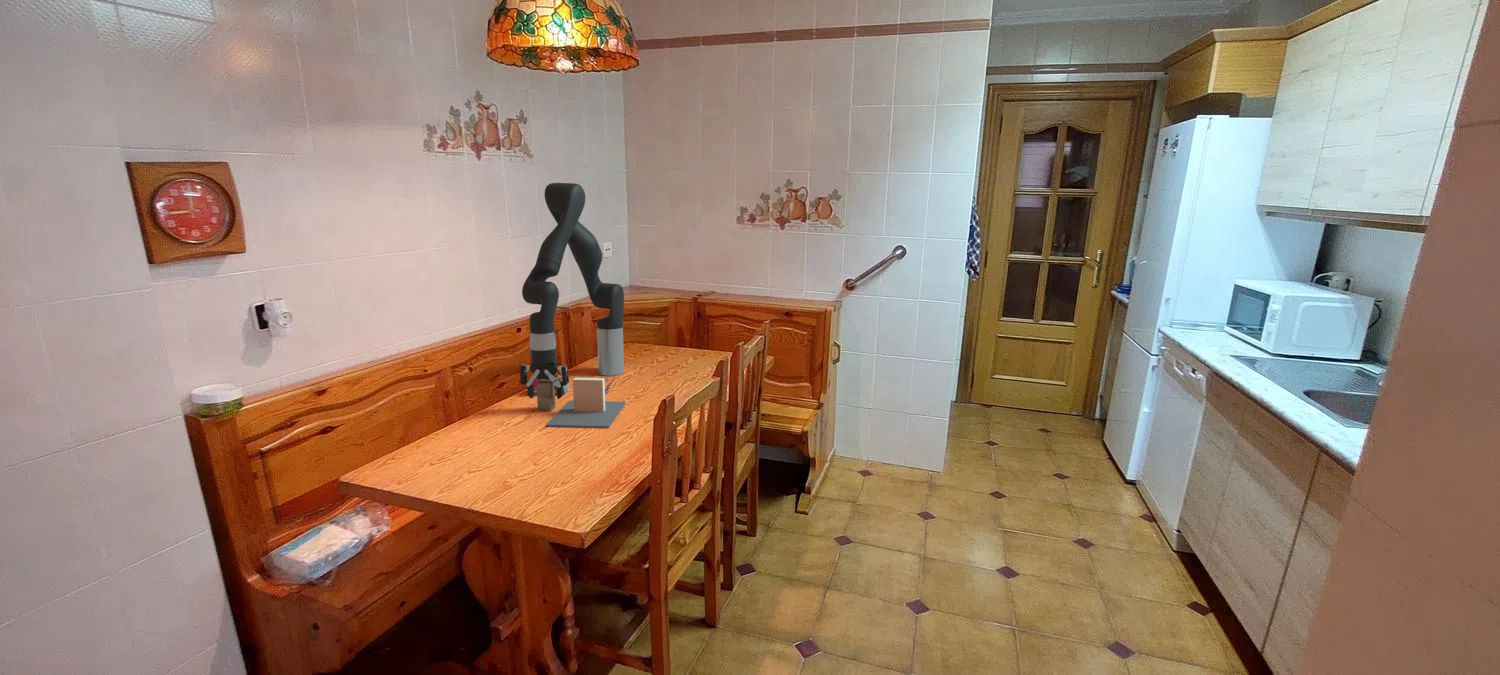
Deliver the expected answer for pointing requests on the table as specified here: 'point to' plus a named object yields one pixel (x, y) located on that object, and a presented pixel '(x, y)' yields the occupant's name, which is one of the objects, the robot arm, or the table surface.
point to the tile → (589, 394)
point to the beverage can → (565, 388)
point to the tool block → (545, 395)
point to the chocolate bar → (608, 385)
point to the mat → (586, 416)
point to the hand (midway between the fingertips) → (545, 397)
